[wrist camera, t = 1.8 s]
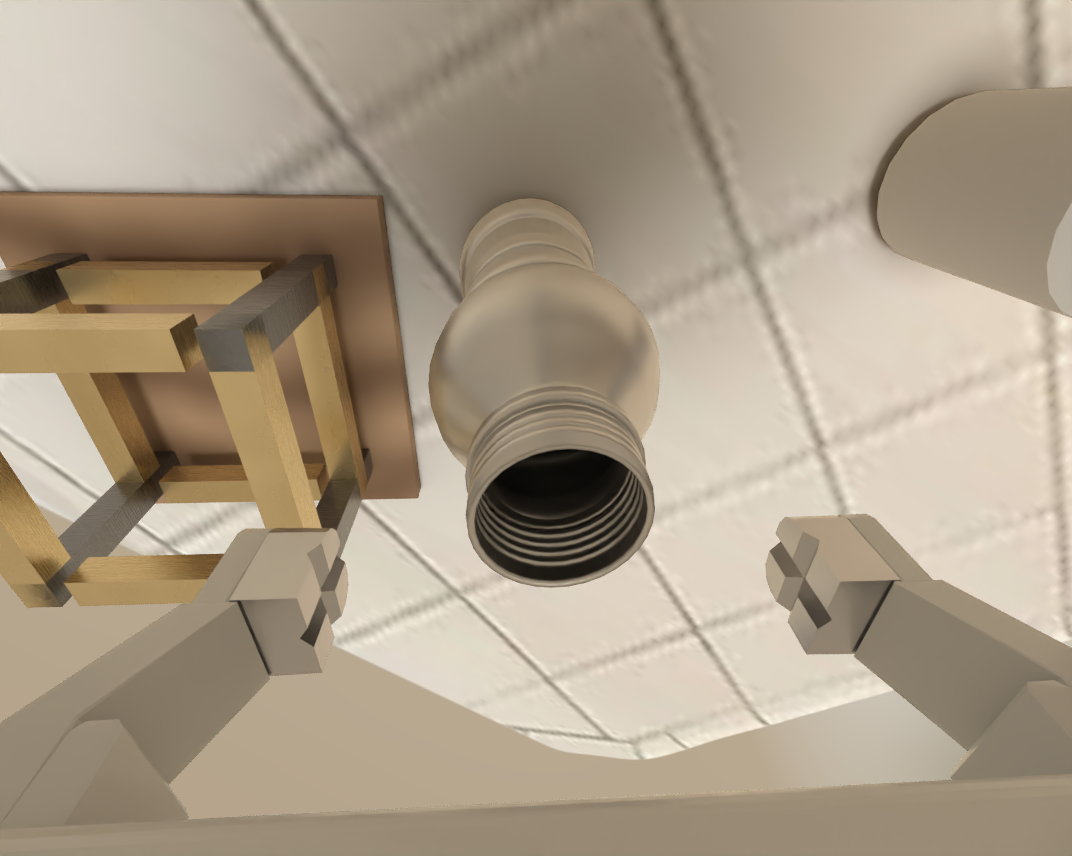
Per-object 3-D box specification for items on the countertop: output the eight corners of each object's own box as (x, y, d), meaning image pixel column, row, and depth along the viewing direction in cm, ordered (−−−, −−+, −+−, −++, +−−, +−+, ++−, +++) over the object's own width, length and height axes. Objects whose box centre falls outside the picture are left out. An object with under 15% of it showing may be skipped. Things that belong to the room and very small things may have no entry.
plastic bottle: (444, 290, 27) (341, 589, 10) (495, 163, 24) (471, 289, 7) (550, 339, 29) (613, 662, 12) (611, 226, 26) (812, 447, 9)
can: (897, 285, 28) (1118, 382, 18) (841, 175, 25) (1070, 219, 15) (1040, 184, 26) (1387, 231, 16) (997, 49, 23) (1399, -2, 12)
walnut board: (-9, 191, 24) (-33, 195, 22) (381, 195, 24) (376, 199, 23) (144, 491, 33) (132, 503, 32) (420, 486, 34) (418, 498, 33)
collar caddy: (54, 253, 24) (-193, 330, 16) (332, 254, 25) (241, 329, 16) (158, 471, 31) (27, 607, 22) (373, 468, 32) (324, 598, 23)
